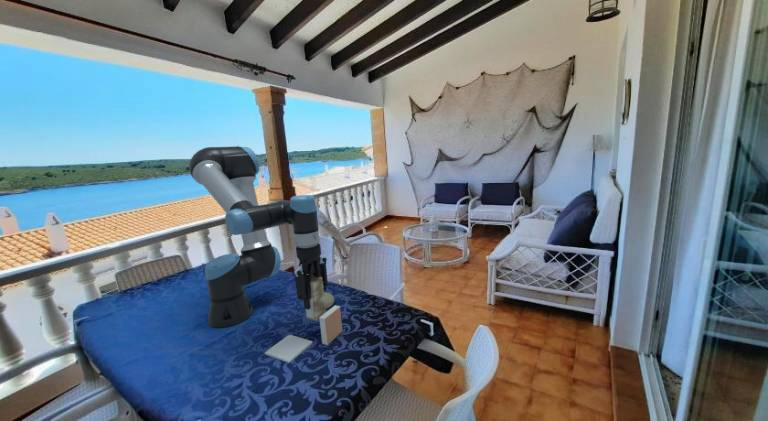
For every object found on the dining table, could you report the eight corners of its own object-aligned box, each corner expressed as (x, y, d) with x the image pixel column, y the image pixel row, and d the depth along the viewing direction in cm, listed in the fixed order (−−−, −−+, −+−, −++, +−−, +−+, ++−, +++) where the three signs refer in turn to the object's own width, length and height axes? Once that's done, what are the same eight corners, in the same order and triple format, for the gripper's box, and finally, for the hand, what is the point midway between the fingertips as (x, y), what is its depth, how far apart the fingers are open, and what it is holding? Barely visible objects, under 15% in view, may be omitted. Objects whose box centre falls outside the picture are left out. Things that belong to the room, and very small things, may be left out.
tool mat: (264, 354, 90) (264, 352, 90) (289, 336, 98) (289, 334, 98) (289, 363, 85) (289, 361, 85) (312, 343, 94) (312, 341, 94)
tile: (322, 343, 93) (319, 317, 92) (337, 330, 100) (335, 305, 99) (327, 345, 92) (324, 318, 91) (342, 331, 99) (340, 306, 98)
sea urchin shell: (331, 307, 112) (315, 293, 112) (319, 320, 114) (303, 306, 114) (339, 296, 121) (325, 282, 121) (328, 308, 123) (313, 295, 123)
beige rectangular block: (317, 321, 95) (312, 282, 93) (306, 318, 97) (301, 280, 95) (326, 314, 99) (322, 277, 96) (315, 311, 101) (311, 275, 99)
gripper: (296, 254, 84) (306, 329, 88) (334, 237, 99) (341, 302, 103) (277, 252, 88) (287, 324, 92) (317, 236, 103) (324, 299, 107)
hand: (316, 312), depth 98 cm, fingers closed on beige rectangular block, 4 cm apart
